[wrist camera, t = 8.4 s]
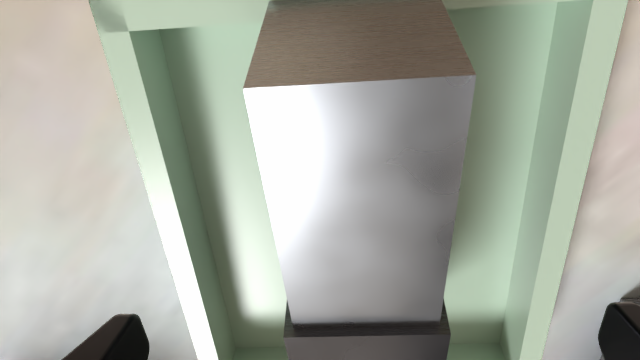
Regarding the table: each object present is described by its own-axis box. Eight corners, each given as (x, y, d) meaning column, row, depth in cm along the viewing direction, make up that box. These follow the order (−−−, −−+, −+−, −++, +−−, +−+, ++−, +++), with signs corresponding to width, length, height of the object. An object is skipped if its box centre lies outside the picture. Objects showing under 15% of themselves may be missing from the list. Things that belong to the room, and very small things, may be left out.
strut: (419, 295, 19) (437, 409, 15) (307, 297, 19) (300, 410, 16) (447, -12, 11) (496, 82, 8) (258, 1, 11) (226, 98, 8)
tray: (512, 344, 21) (532, 397, 19) (223, 349, 22) (210, 400, 20) (587, -51, 13) (637, -40, 11) (129, -16, 14) (88, 0, 12)
